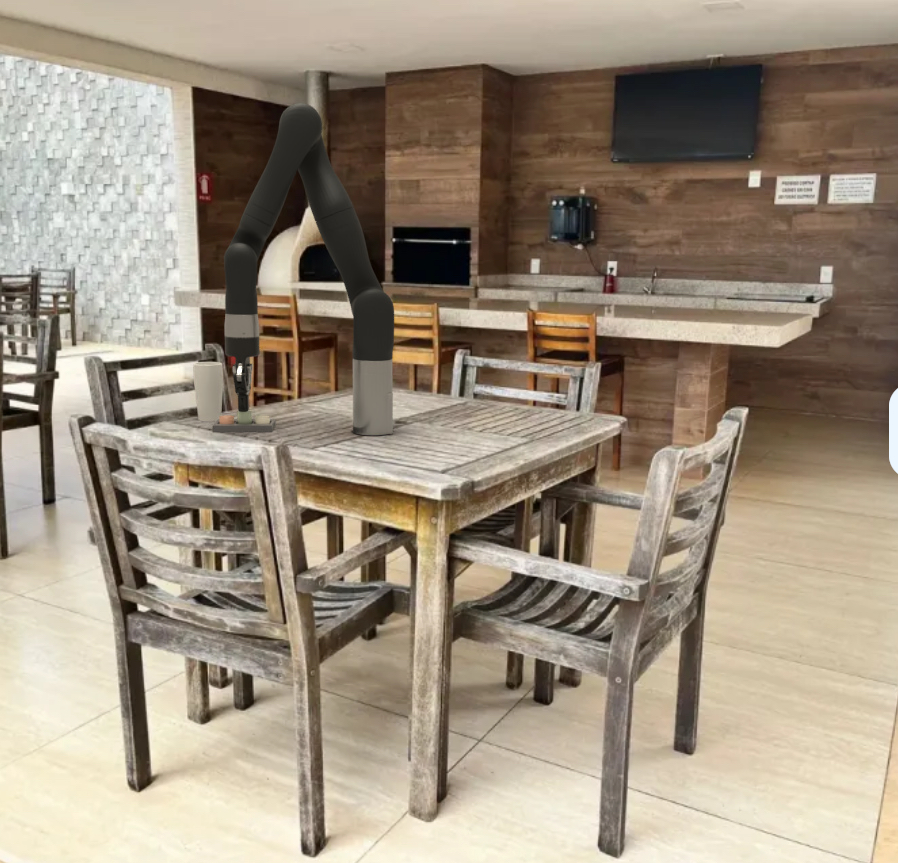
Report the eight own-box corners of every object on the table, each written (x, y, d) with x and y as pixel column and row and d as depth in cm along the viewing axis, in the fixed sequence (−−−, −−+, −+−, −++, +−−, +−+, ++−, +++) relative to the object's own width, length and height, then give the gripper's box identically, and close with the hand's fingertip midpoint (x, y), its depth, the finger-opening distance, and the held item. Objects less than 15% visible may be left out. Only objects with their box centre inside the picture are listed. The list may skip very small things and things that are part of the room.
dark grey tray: (275, 431, 208) (275, 419, 207) (272, 438, 200) (271, 425, 200) (218, 432, 207) (218, 419, 206) (212, 438, 199) (212, 425, 198)
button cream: (270, 432, 205) (270, 415, 205) (269, 435, 202) (268, 417, 202) (256, 432, 205) (256, 415, 204) (254, 435, 202) (254, 417, 201)
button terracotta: (235, 432, 205) (234, 415, 204) (233, 435, 202) (232, 417, 201) (221, 432, 204) (220, 415, 204) (218, 435, 201) (218, 417, 201)
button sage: (252, 427, 205) (252, 410, 204) (251, 430, 202) (250, 412, 201) (238, 427, 205) (238, 410, 204) (236, 430, 201) (236, 412, 201)
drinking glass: (195, 428, 211) (193, 365, 208) (195, 423, 217) (193, 361, 214) (225, 427, 213) (222, 364, 210) (224, 422, 219) (222, 361, 216)
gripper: (255, 337, 193) (256, 416, 196) (262, 332, 206) (263, 406, 209) (220, 336, 192) (221, 416, 196) (229, 331, 205) (231, 406, 209)
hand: (243, 411), depth 202 cm, fingers closed
